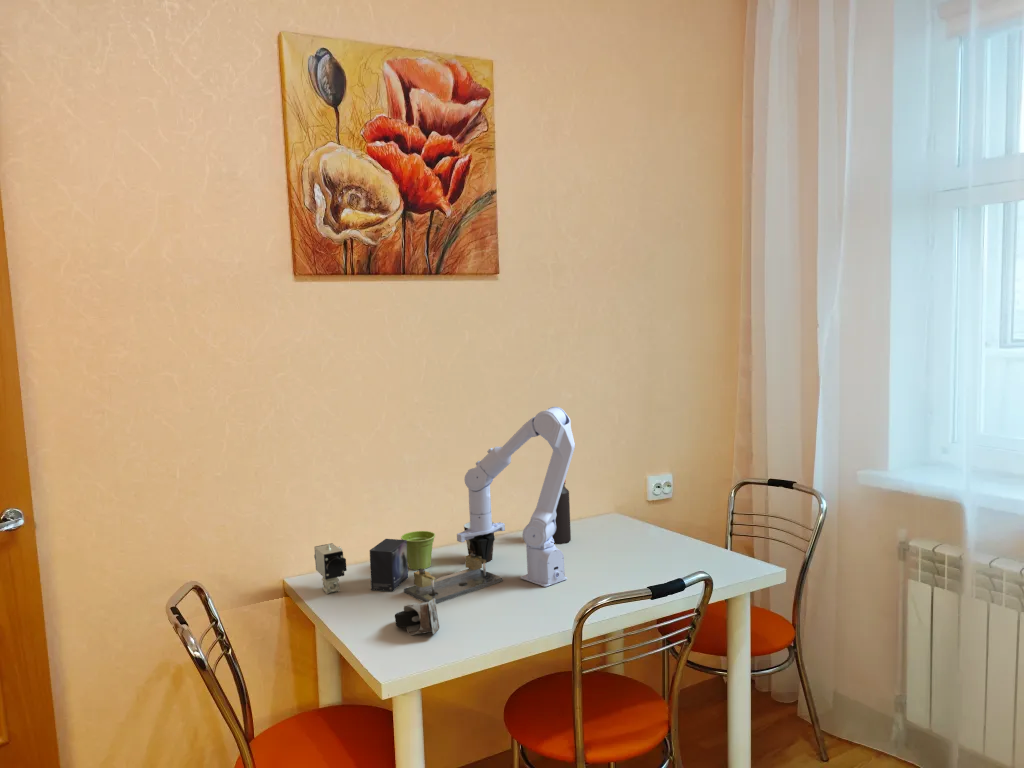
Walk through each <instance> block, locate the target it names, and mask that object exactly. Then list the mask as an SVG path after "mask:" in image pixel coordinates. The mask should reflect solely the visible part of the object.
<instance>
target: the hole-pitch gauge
mask: <svg viewBox="0 0 1024 768" xmlns="http://www.w3.org/2000/svg"><path fill="white" fill-rule="evenodd" d="M431 573H432V572H429V571H426V569H418V571H417V570H416V571H415V572H413V584H414V585H411V586H409V587H406V588H404V589H403V593H404V594H406V595H408V596H410V597H413V598H415V599H417V600H419V601H421V602H423V603H424V602H429V601H431V600H432V599H433V598H435V603H436V604H439V603H441V602H445V601H448V600H451V599H454V598H456V597H457V598H458V597H460V596H462V595H466V594H469V593H471V592H475V591H478V590H480V589H484V588H486V587H490V586H492V585H495V584H499V583H501V582H504V580H503V579H504V577H502V576H499V575H498V574H495V573H491V572H489V571H486V576H484V572H483V569H482V568H480V569H477V570H472V569H469V568H465V569H463V570H459V571H456V572H453V573H450V574H446V575H443V576H441V577H437V578H436V577H435V576H433V575H432V574H431Z"/></svg>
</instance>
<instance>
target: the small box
mask: <svg viewBox="0 0 1024 768" xmlns="http://www.w3.org/2000/svg"><path fill="white" fill-rule="evenodd" d="M369 563H370V568H369V569H370V591H380V592H382V591H383V592H395V590H396V589H397V588H399V587H400V586H401V585H402V584H403V583H404V582H405V581H406V580H408V579H409V566H408V562H407V540H402V539H397V538H385V539H384V540H382V541H381V542H380V543H378V544H377V545H375V546H374V547H372V548H371V549H370V550H369Z"/></svg>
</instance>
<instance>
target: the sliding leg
mask: <svg viewBox="0 0 1024 768" xmlns="http://www.w3.org/2000/svg"><path fill="white" fill-rule="evenodd" d="M464 558H465V559H464V561H465V569H472V570H477V569H482V570H483V572H484V576H486V572H487V570H486V569H487V568H486V567H487V566H486V564H487V563H486V560H485V559H482V557H481V556H478V555H476V553H474V552H473V553H471V554H470V555H469V554H468V555H465V556H464ZM482 562H483V564H482Z"/></svg>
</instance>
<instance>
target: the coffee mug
mask: <svg viewBox="0 0 1024 768" xmlns="http://www.w3.org/2000/svg"><path fill="white" fill-rule="evenodd" d="M494 523H495V522H493V521H492V524H494ZM469 528H470V521H468V522H466V523H464V524H463V529H464V531H465V530H467V529H469ZM491 535H494V536H495V532H494V533H491ZM494 541H495V540H494ZM494 541H493V543H492V546H491V548H490V551H489V555H488V560H487V563H490V562H492V561H493V555H494V554H493V552H494ZM465 542H466V547H467V553H468V555H470V554H471V553H473V552H474V553H476V552H475V550H474V548H473V546H472V544H471V542H470V541H469V540H465ZM491 560H492V561H491Z"/></svg>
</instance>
